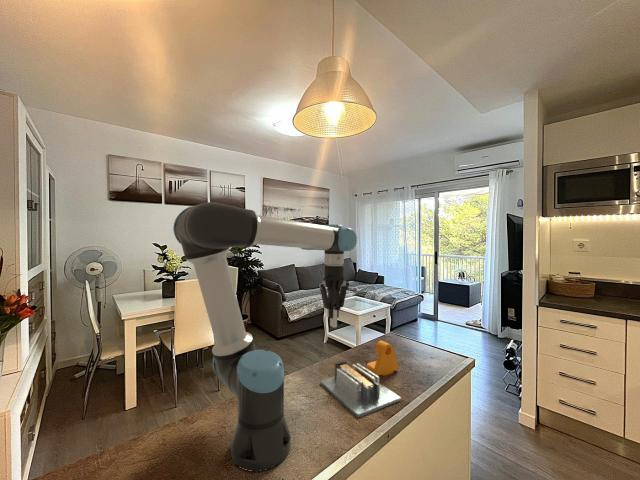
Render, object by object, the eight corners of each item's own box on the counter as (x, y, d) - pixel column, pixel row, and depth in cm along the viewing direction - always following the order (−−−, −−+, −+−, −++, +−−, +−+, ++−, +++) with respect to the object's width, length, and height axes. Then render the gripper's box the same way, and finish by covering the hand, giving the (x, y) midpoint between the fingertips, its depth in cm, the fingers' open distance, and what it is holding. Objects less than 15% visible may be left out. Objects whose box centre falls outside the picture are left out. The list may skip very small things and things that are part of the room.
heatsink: (400, 400, 93) (400, 381, 93) (357, 417, 84) (357, 396, 84) (358, 371, 113) (358, 356, 113) (320, 383, 104) (320, 366, 104)
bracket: (385, 364, 119) (385, 336, 119) (398, 371, 113) (398, 341, 113) (366, 370, 114) (366, 341, 114) (378, 377, 108) (378, 347, 108)
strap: (375, 388, 92) (375, 385, 92) (368, 391, 91) (368, 388, 91) (346, 366, 107) (346, 363, 107) (339, 368, 106) (339, 365, 106)
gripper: (324, 266, 100) (323, 331, 100) (353, 265, 106) (353, 326, 106) (314, 264, 107) (313, 326, 107) (343, 263, 113) (342, 321, 113)
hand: (333, 326), depth 106 cm, fingers closed
